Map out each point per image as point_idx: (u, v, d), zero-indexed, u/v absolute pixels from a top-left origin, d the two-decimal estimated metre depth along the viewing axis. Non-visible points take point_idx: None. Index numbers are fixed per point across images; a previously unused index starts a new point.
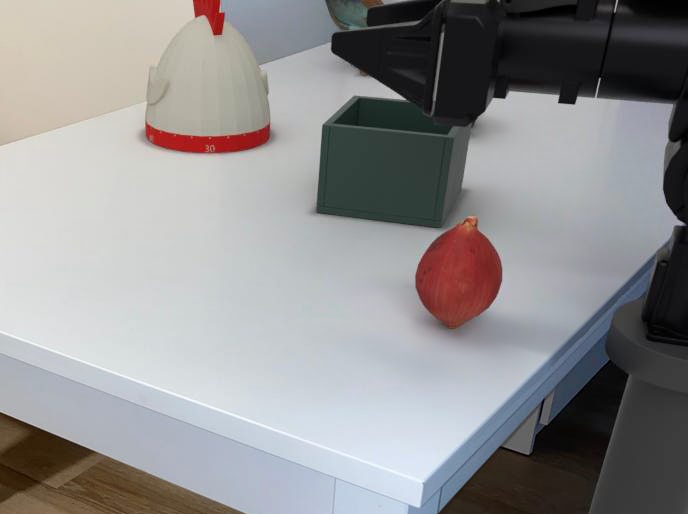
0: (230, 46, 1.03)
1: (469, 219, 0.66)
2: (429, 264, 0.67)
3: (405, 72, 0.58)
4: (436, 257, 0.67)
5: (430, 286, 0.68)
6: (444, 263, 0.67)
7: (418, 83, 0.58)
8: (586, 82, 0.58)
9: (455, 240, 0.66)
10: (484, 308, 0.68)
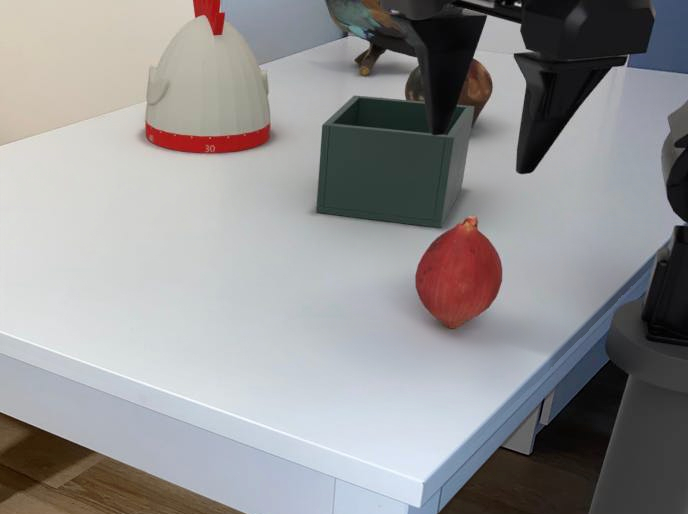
0: (230, 46, 1.03)
1: (469, 219, 0.66)
2: (429, 264, 0.67)
3: (572, 90, 0.57)
4: (436, 257, 0.67)
5: (430, 286, 0.68)
6: (444, 263, 0.67)
7: (588, 74, 0.56)
8: None
9: (455, 240, 0.66)
10: (484, 308, 0.68)
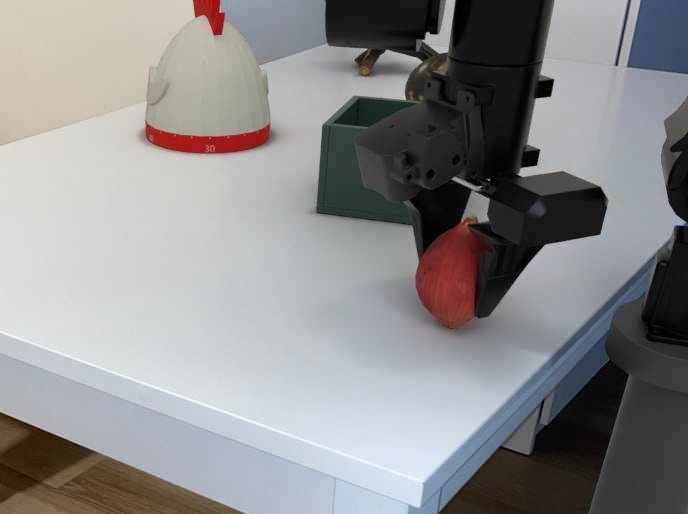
0: (230, 46, 1.03)
1: (469, 219, 0.66)
2: (430, 264, 0.67)
3: (521, 251, 0.64)
4: (436, 257, 0.67)
5: (430, 286, 0.68)
6: (445, 263, 0.67)
7: None
8: (539, 74, 0.60)
9: (455, 240, 0.66)
10: None
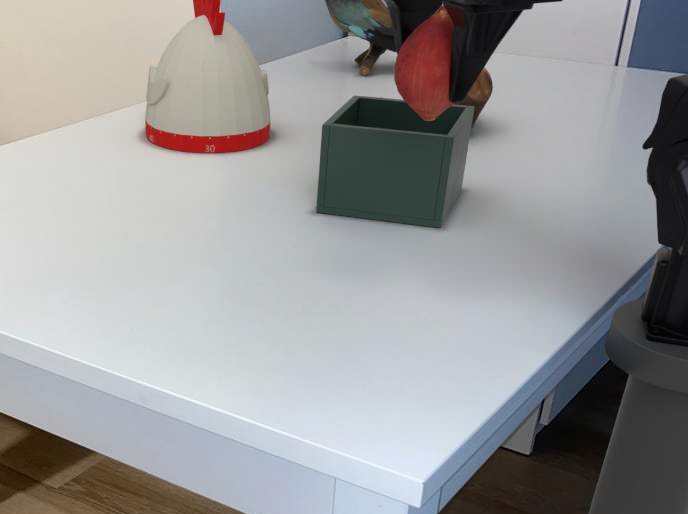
0: (230, 46, 1.03)
1: (443, 7, 0.72)
2: (407, 52, 0.73)
3: (491, 30, 0.70)
4: (413, 44, 0.73)
5: (408, 72, 0.73)
6: (421, 48, 0.72)
7: (503, 16, 0.69)
8: None
9: (430, 27, 0.72)
10: None
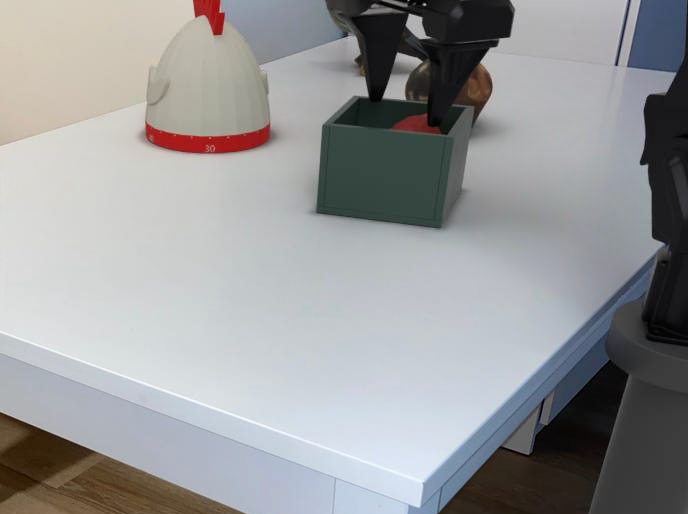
0: (230, 46, 1.03)
1: None
2: (398, 123, 0.90)
3: (463, 65, 0.80)
4: (404, 119, 0.90)
5: None
6: (411, 119, 0.90)
7: (473, 53, 0.80)
8: None
9: (419, 115, 0.91)
10: None
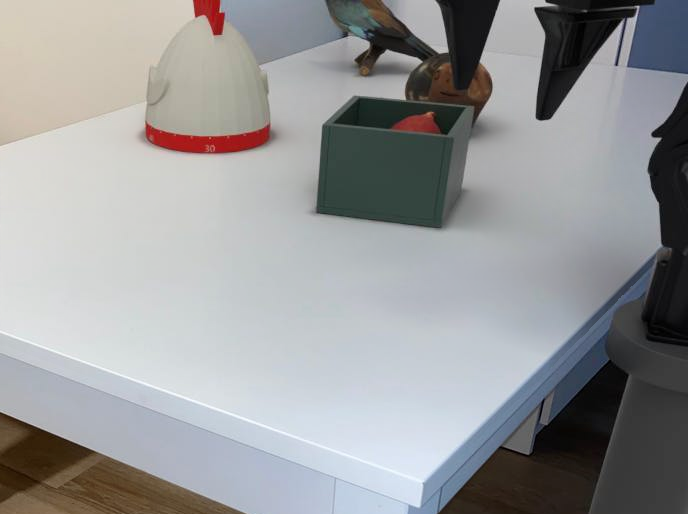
0: (230, 46, 1.03)
1: None
2: (398, 123, 0.90)
3: (587, 41, 0.63)
4: (404, 119, 0.90)
5: None
6: (411, 119, 0.90)
7: (601, 26, 0.62)
8: None
9: (419, 115, 0.91)
10: None
